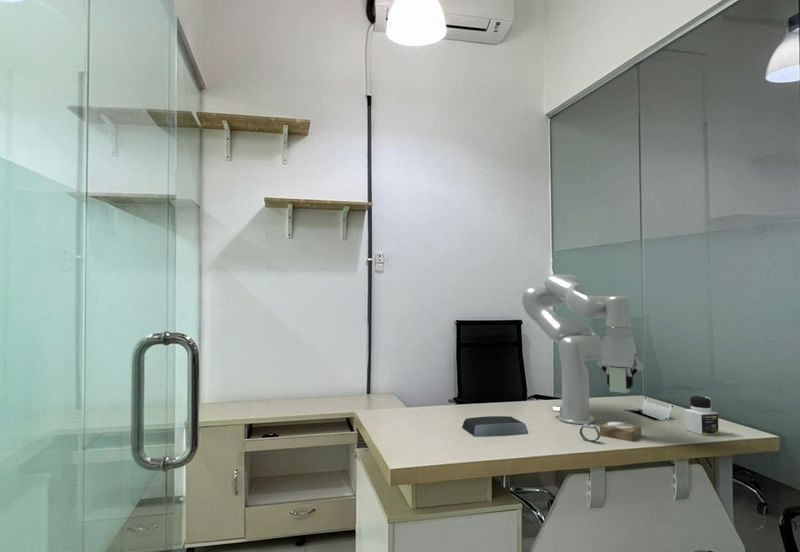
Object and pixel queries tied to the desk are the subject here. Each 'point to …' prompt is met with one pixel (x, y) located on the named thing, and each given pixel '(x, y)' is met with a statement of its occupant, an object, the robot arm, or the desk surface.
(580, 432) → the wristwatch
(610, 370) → the sage block
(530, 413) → the desk surface
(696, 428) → the medicine bottle
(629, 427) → the pedestal
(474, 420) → the external hard drive
